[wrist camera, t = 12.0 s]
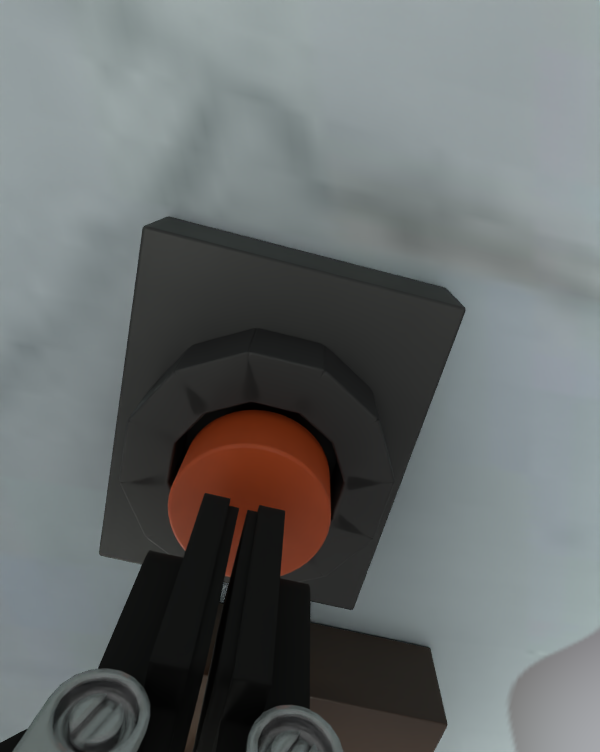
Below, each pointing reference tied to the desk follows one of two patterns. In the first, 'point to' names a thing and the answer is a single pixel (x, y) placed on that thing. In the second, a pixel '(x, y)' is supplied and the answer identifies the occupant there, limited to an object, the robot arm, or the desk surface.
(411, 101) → the desk surface
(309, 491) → the button
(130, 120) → the desk surface
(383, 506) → the button block
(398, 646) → the base
